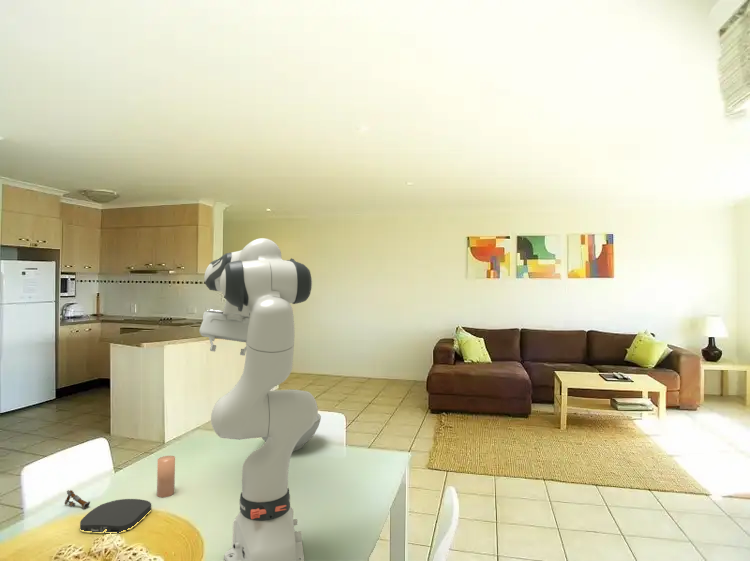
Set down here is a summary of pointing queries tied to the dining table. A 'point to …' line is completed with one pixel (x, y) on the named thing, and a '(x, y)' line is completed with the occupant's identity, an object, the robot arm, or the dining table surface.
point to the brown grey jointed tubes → (76, 498)
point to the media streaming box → (115, 515)
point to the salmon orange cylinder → (166, 476)
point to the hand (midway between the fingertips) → (227, 352)
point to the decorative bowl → (307, 435)
